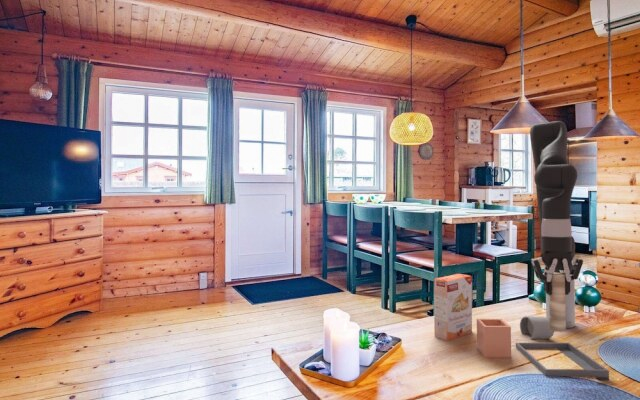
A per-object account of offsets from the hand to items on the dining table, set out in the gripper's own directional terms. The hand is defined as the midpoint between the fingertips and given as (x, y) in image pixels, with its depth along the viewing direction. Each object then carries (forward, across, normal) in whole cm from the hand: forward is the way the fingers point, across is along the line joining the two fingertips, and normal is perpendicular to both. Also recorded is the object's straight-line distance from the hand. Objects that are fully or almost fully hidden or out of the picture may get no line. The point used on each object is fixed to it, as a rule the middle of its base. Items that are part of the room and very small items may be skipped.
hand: (556, 293), depth 118 cm
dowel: (+10, 0, 0) cm, 10 cm away
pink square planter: (+20, +16, -6) cm, 26 cm away
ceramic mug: (+20, -3, -22) cm, 30 cm away
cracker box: (+20, +24, -22) cm, 38 cm away
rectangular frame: (+20, 0, 0) cm, 20 cm away
